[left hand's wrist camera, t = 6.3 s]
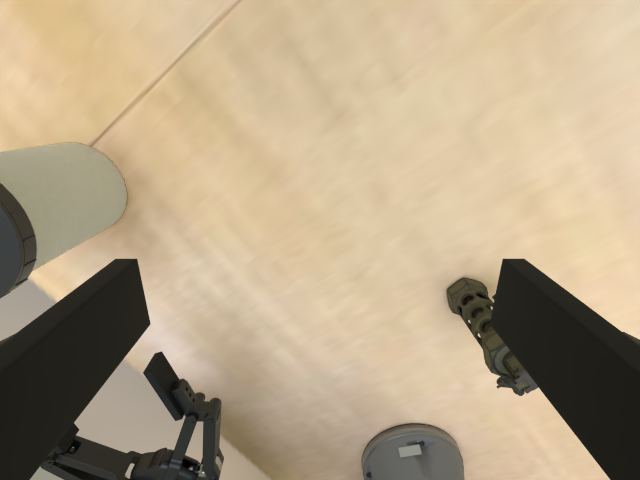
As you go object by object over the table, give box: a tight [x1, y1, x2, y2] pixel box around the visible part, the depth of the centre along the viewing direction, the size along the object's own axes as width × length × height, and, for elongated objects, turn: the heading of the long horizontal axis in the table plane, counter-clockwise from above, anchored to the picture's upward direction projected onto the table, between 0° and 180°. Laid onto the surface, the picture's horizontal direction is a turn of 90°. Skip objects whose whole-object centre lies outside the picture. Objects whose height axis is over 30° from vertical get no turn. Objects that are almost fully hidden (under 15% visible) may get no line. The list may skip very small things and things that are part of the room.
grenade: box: [447, 278, 538, 396], centre depth 37 cm, size 9×6×15 cm, turn 134°
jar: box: [0, 142, 127, 271], centre depth 33 cm, size 10×10×16 cm
